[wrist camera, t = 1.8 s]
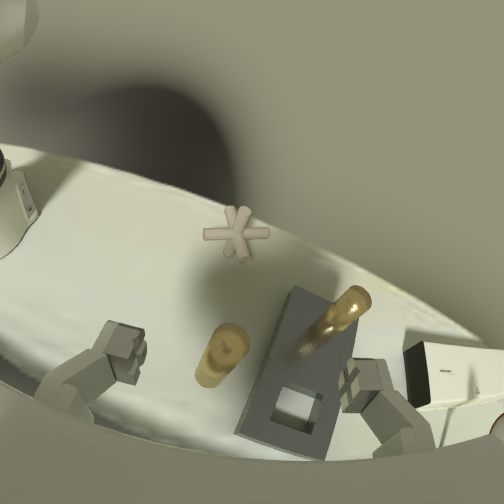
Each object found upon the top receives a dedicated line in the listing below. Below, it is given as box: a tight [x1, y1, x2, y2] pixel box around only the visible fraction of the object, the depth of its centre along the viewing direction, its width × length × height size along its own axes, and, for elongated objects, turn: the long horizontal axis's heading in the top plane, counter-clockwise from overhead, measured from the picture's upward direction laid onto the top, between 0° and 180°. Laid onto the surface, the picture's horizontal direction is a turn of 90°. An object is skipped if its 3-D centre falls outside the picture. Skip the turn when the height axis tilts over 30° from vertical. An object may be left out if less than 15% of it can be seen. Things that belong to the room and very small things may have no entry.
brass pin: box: [195, 324, 250, 388], centre depth 32 cm, size 4×4×13 cm
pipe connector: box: [203, 206, 269, 264], centre depth 46 cm, size 10×10×10 cm
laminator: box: [403, 341, 504, 411], centre depth 45 cm, size 34×12×6 cm, turn 84°
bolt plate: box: [234, 285, 372, 461], centre depth 36 cm, size 24×12×13 cm, turn 159°
